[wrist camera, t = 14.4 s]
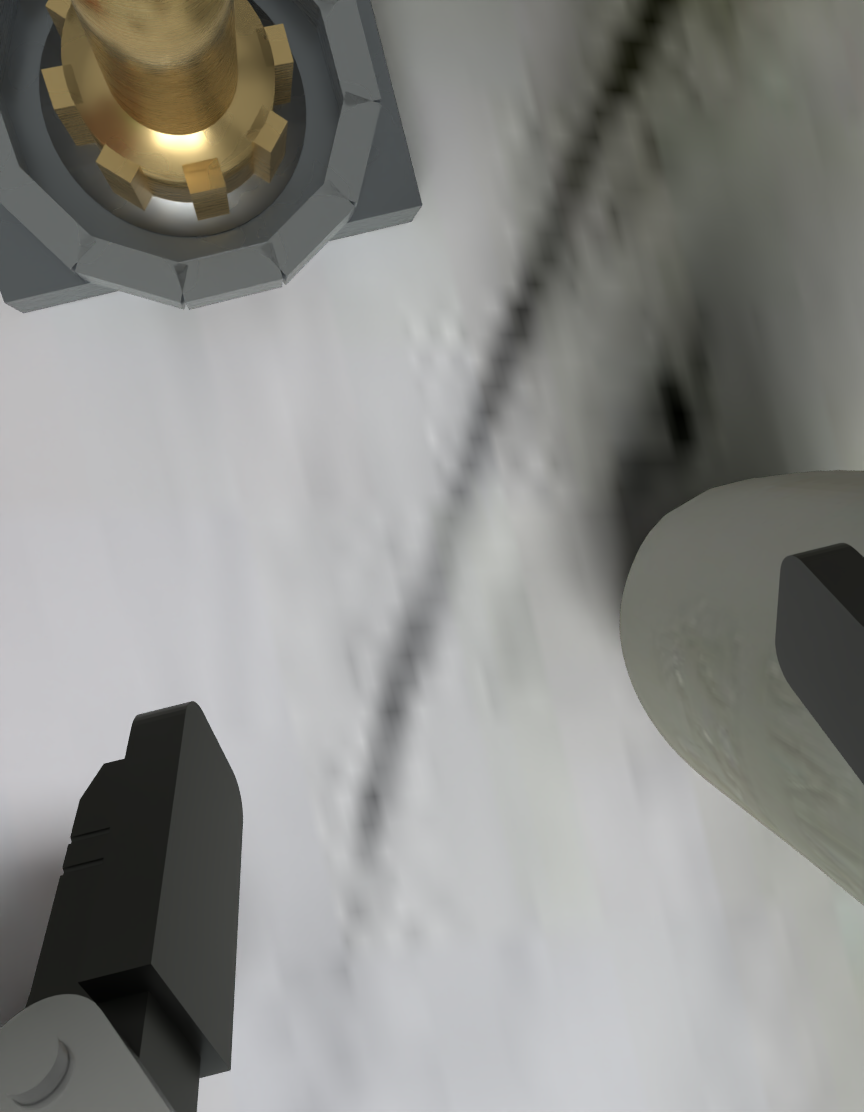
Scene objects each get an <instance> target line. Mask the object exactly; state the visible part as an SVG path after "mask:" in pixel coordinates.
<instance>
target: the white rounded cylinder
mask: <svg viewBox="0 0 864 1112" xmlns="http://www.w3.org/2000/svg"><path fill="white" fill-rule="evenodd" d="M837 543H846V544H849V545H850V546H852V547H853V548H854V549H856V550H857V551H858V552H859V553H860V554H861V555H862V556H863V557H864V471H846V470H834V471H813V472H803V473H791V474H784V475H773V476H767V477H761V478H750V479H746V480H742V481H738V482H734V483H730V484H726V485H722V486H719V487H715V488H711V489H708V490H707V491H705V492H703V493H702V494H700V495H698V496H696V497H695V498H693V499H691V500H690V501H688V502H686V503H684V504H683V505H681V506H679V507H678V508H676V509H674V510H672V511H671V512H669V513H668V514H666V515H665V516H664V517H663V518H662V519H661V520H660V521H659V522H658V523H657V524H656V525H655V526H654V528H653V529H652V530H651V531H650V532H649V534H648V535H647V537H646V538H645V540H644V541H643V543H642V545H641V546H640V548H639V550H638V552H637V554H636V556H635V559H634V561H633V564H632V566H631V569H630V572H629V575H628V578H627V581H626V584H625V588H624V592H623V596H622V601H621V609H620V639H621V646H622V651H623V656H624V660H625V664H626V668H627V671H628V674H629V677H630V680H631V682H632V685H633V687H634V690H635V692H636V694H637V696H638V698H639V700H640V702H641V704H642V706H643V708H644V710H645V711H646V713H647V715H648V716H649V718H650V719H651V721H652V722H653V724H654V725H655V727H656V728H657V730H658V731H659V732H660V734H661V735H662V736H663V738H664V739H665V740H666V741H667V742H668V744H669V745H670V746H671V747H672V748H673V749H674V750H675V751H676V753H677V754H678V755H679V756H680V757H681V758H682V759H683V760H684V761H685V762H686V763H687V764H689V765H690V766H691V767H692V768H693V769H694V770H695V771H696V772H697V773H698V774H700V775H701V776H702V777H703V778H704V779H705V780H707V781H708V782H709V783H711V784H712V785H713V786H714V787H716V788H717V789H718V790H719V791H721V792H722V793H723V794H725V795H726V796H727V797H728V798H730V799H731V800H732V801H733V802H735V803H736V804H737V805H739V806H740V807H741V808H742V809H744V810H745V811H746V812H747V813H749V814H750V815H751V816H753V817H754V818H755V819H757V820H758V821H759V822H760V823H762V824H763V825H764V826H765V827H767V828H768V829H769V830H771V831H772V832H773V833H774V834H776V835H777V836H778V837H780V838H781V839H782V840H783V841H785V842H786V843H787V844H789V845H790V846H791V847H792V848H794V849H795V850H796V851H797V852H799V853H800V854H801V855H803V856H804V857H805V858H807V859H808V860H809V861H810V862H811V863H813V864H814V865H815V866H816V867H818V868H819V869H820V870H821V871H822V872H824V873H825V874H826V875H827V876H828V877H830V878H831V879H832V880H833V881H834V882H836V883H837V884H838V885H839V886H841V887H842V888H843V889H844V890H845V891H847V892H848V893H849V894H850V895H851V896H853V897H854V898H855V899H856V900H858V901H859V902H860V903H861V904H863V905H864V785H863V783H862V782H861V781H860V779H859V778H858V777H857V775H856V774H855V773H854V771H853V770H852V769H851V767H850V766H849V765H848V763H847V762H846V761H845V759H844V758H843V756H842V755H841V754H840V752H839V751H838V750H837V748H836V747H835V746H834V744H833V743H832V742H831V740H830V739H829V738H828V736H827V735H826V734H825V732H824V731H823V730H822V728H821V727H820V726H819V724H818V723H817V722H816V720H815V719H814V718H813V716H812V715H811V714H810V712H809V711H808V710H807V708H806V707H805V706H804V704H803V703H802V702H801V700H800V699H799V698H798V696H797V695H796V694H795V692H794V691H793V690H792V688H791V687H790V685H789V684H788V682H787V681H786V679H785V677H784V675H783V673H782V670H781V668H780V665H779V662H778V658H777V654H776V648H775V634H776V620H777V607H778V593H779V579H780V568H781V564H782V561H783V559H784V558H785V557H787V556H789V555H793V554H797V553H801V552H805V551H809V550H813V549H817V548H821V547H825V546H829V545H833V544H837Z"/></svg>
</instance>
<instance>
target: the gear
mask: <svg viewBox="0 0 864 1112" xmlns="http://www.w3.org/2000/svg"><path fill="white" fill-rule="evenodd" d="M45 6H46V8H47V10H48V12H49V14H50V16H51V18H52V21H53V23H54V25H55V27H56V29H57V31H58V33H59V35H60V37H61V60H62V66H57V67H52V68H46V69H41V71H42V74H43V77H44V80H45V83H46V86H47V89H48V92H49V96H50V99H51V102H52V105H53V108H54V110H55V112H56V113H57V115H58V117H59V118H60V120H61V121H62V123H63V125H64V126H65V128H66V129H67V131H68V133H69V134H70V136H71V138H72V139H73V141H74V142H75V144H76V146H81V145H86V144H91V143H96V144H97V146H98V148H99V150H100V151H101V153H100V154H99V156H98V158H97V160H96V163H97V165H98V167H99V168H100V170H101V172H102V173H103V175H104V177H105V179H106V180H107V182H108V184H109V185H110V187H111V189H112V190H113V192H114V193H115V194H117V195H119V196H120V197H122V198H124V199H125V200H127V201H129V202H130V203H132V204H133V205H135V206H137V207H138V208H140V209H142V210H143V211H145V209H146V208H147V206H148V204H149V202H150V200H151V198H152V197H153V196H156V197H159V198H162V199H166V200H170V201H175V202H183V203H193V206H194V209H195V213H196V216H197V219H198V221H200V220H204V219H208V218H213V217H217V216H222V215H226V214H230V212H229V205H228V198H227V194H229V193H231V192H232V191H234V190H236V189H237V188H239V187H240V186H241V185H243V184H244V183H245V182H246V181H247V180H248V179H249V178H250V177H251V176H252V175H253V174H256V175H257V176H259V177H260V178H262V179H263V180H265V181H267V182H268V183H270V182H271V180H272V178H273V176H274V175H275V173H276V171H277V169H278V167H279V165H280V164H281V162H282V160H283V158H284V156H285V149H286V137H287V125H288V121H287V120H285V119H284V118H282V117H281V116H279V115H278V114H276V113H275V112H274V106H275V105H280V104H285V103H290V99H291V88H292V76H293V64H294V61H293V58H292V54H291V50H290V47H289V43H288V39H287V36H286V32H285V28H284V25H283V24H278V25H272V26H267V27H263V25H262V23H261V21H260V19H259V17H258V15H257V14H256V12H255V11H254V9H253V7H252V6H251V5H250V3H249V2H248V1H247V0H48V1H47V3H46V5H45Z"/></svg>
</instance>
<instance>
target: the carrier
mask: <svg viewBox="0 0 864 1112" xmlns="http://www.w3.org/2000/svg"><path fill="white" fill-rule="evenodd" d="M47 1H48V0H0V291H1V294H2V297H3V300H4V302H5V303H6V304H8V305H9V306H11V307H13V308H15V309H17V310H19V311H20V312H22V313H26V312H31V311H35V310H39V309H43V308H48V307H52V306H56V305H60V304H64V303H69V302H73V301H77V300H81V299H86V298H90V297H94V296H98V295H103V294H107V293H111V292H115V291H122V292H125V293H129V294H132V295H136V296H139V297H143V298H146V299H150V300H153V301H156V302H160V303H163V304H167V305H170V306H174V307H177V308H181V309H185V304H186V305H187V306H188V308H189V310H190V309H194V308H198V307H202V306H206V305H210V304H215V303H219V302H223V301H227V300H231V299H235V298H239V297H243V296H247V295H252V294H256V293H260V292H264V291H268V290H272V289H276V288H280V287H282V282H284V283H285V284H287V283H288V282H289V281H290V280H291V279H292V278H293V277H294V276H295V275H296V274H297V273H298V272H299V271H300V270H301V269H302V268H303V267H304V266H305V265H306V264H307V263H308V262H309V261H310V260H311V259H312V258H313V257H314V256H315V255H316V254H317V253H318V252H319V251H320V250H321V249H322V248H323V247H324V246H325V244H326V243H327V242H328V241H331V240H335V239H340V238H344V237H348V236H352V235H356V234H361V233H365V232H369V231H373V230H378V229H382V228H386V227H390V226H395V225H399V224H403V223H407V222H411V221H412V220H413V218H414V217H415V215H416V214H417V213H418V211H419V210H420V208H421V207H422V202H421V198H420V194H419V190H418V186H417V182H416V179H415V175H414V171H413V167H412V163H411V159H410V155H409V151H408V147H407V143H406V139H405V135H404V131H403V127H402V124H401V120H400V116H399V112H398V108H397V104H396V100H395V96H394V92H393V88H392V84H391V80H390V76H389V72H388V68H387V65H386V61H385V57H384V53H383V49H382V45H381V41H380V37H379V33H378V29H377V25H376V21H375V17H374V13H373V9H372V6H371V2H370V0H247V1H248V2H249V3H250V5H251V6H252V7H253V9H254V11H255V12H256V14H257V15H258V17H259V19H260V21H261V23H262V25H263V27H267V26H272V25H278V24H283V25H284V28H285V32H286V36H287V39H288V43H289V47H290V50H291V54H292V58H293V61H294V64H293V76H292V88H291V99H290V103H285V104H280V105H275V106H274V112H275V113H276V114H278V115H279V116H281V117H282V118H284V119H285V120H287V121H288V125H287V137H286V149H285V156H284V158H283V160H282V162H281V164H280V165H279V167H278V169H277V171H276V173H275V175H274V176H273V178H272V180H271V182H270V183H268V182H267V181H265V180H263V179H262V178H260V177H259V176H257V175H256V174H253V175H252V176H251V177H250V178H249V179H248V180H247V181H246V182H245V183H244V184H243V185H241V186H240V187H239V188H237V189H236V190H234V191H232V192H231V193H229V194H227V198H228V205H229V212H230V214H226V215H222V216H217V217H213V218H208V219H204V220H200V221H198V219H197V216H196V213H195V209H194V206H193V203H183V202H175V201H170V200H166V199H162V198H159V197H156V196H153V197H152V198H151V200H150V202H149V204H148V206H147V208H146V209H145V211H143V210H142V209H140V208H138V207H137V206H135V205H133V204H132V203H130V202H129V201H127V200H125V199H124V198H122V197H120V196H119V195H117V194H115V193H114V192H113V190H112V189H111V187H110V185H109V184H108V182H107V180H106V179H105V177H104V175H103V173H102V172H101V170H100V168H99V167H98V165H97V163H96V160H97V158H98V156H99V154H100V153H101V151H100V150H99V148H98V146H97V144H96V143H91V144H86V145H81V146H76V144H75V142H74V141H73V139H72V138H71V136H70V134H69V133H68V131H67V129H66V128H65V126H64V125H63V123H62V121H61V120H60V118H59V117H58V115H57V113H56V112H55V110H54V108H53V105H52V102H51V99H50V96H49V92H48V89H47V86H46V83H45V80H44V77H43V74H42V71H41V69H46V68H52V67H57V66H62V60H61V37H60V35H59V33H58V31H57V29H56V27H55V25H54V23H53V21H52V18H51V16H50V14H49V12H48V10H47V8H46V6H45V5H46V3H47Z"/></svg>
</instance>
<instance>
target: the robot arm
mask: <svg viewBox="0 0 864 1112" xmlns="http://www.w3.org/2000/svg"><path fill="white" fill-rule="evenodd" d="M775 648H776V654H777V658H778V662H779V665H780V668H781V670H782V673H783V675H784V677H785V679H786V681H787V682H788V684H789V685H790V687H791V688H792V690H793V691H794V692H795V694H796V695H797V696H798V698H799V699H800V700H801V702H802V703H803V704H804V706H805V707H806V708H807V710H808V711H809V712H810V714H811V715H812V716H813V718H814V719H815V720H816V722H817V723H818V724H819V726H820V727H821V728H822V730H823V731H824V732H825V734H826V735H827V736H828V738H829V739H830V740H831V742H832V743H833V744H834V746H835V747H836V748H837V750H838V751H839V752H840V754H841V755H842V756H843V758H844V759H845V761H846V762H847V763H848V765H849V766H850V767H851V769H852V770H853V771H854V773H855V774H856V775H857V777H858V778H859V779H860V781H861V782H862V783H863V785H864V557H863V556H862V555H861V554H860V553H859V552H858V551H857V550H856V549H854V548H853V547H852V546H850V545H849V544H846V543H837V544H833V545H829V546H825V547H821V548H817V549H813V550H809V551H805V552H801V553H797V554H793V555H789V556H787V557H785V558H784V559H783V561H782V564H781V568H780V579H779V593H778V607H777V620H776V634H775ZM242 829H243V810H242V802H241V796H240V791H239V787H238V784H237V780H236V778H235V775H234V773H233V771H232V769H231V767H230V765H229V763H228V761H227V759H226V757H225V755H224V753H223V751H222V749H221V747H220V745H219V743H218V741H217V739H216V737H215V735H214V733H213V731H212V729H211V727H210V725H209V723H208V721H207V719H206V717H205V715H204V713H203V711H202V710H201V708H200V706H199V705H198V704H197V703H196V702H194V701H191V702H187V703H183V704H179V705H175V706H171V707H167V708H163V709H159V710H155V711H151V712H147V713H143V714H139V715H137V716H136V717H135V719H134V721H133V723H132V727H131V732H130V736H129V741H128V746H127V751H126V755H125V759H122V760H118V761H114V762H109V763H105V764H103V766H102V767H101V769H100V770H99V772H98V773H97V775H96V776H95V778H94V779H93V781H92V782H91V784H90V785H89V787H88V788H87V790H86V791H85V793H84V794H83V796H82V797H81V799H80V801H79V805H78V809H77V813H76V817H75V821H74V825H73V829H72V833H71V836H70V837H71V841H72V842H71V844H68V848H67V852H66V856H65V860H64V864H63V871H64V874H63V875H62V876H60V879H59V883H58V887H57V891H56V895H55V899H54V903H53V907H52V911H51V914H50V918H49V922H48V926H47V930H46V934H45V938H44V942H43V946H42V949H41V953H40V957H39V961H38V965H37V969H36V973H35V977H34V981H33V985H32V988H31V992H30V995H29V999H28V1002H27V1005H26V1007H25V1009H24V1010H22V1011H20V1012H19V1013H18V1014H17V1015H15V1016H14V1017H13V1018H11V1019H10V1020H9V1021H8V1022H7V1023H6V1024H5V1025H4V1026H3V1027H2V1028H0V1112H197V1100H198V1087H199V1078H202V1077H206V1076H210V1075H214V1074H218V1073H222V1072H225V1071H229V1070H231V1051H232V1031H233V1011H234V990H235V970H236V950H237V930H238V910H239V890H240V869H241V849H242Z"/></svg>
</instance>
